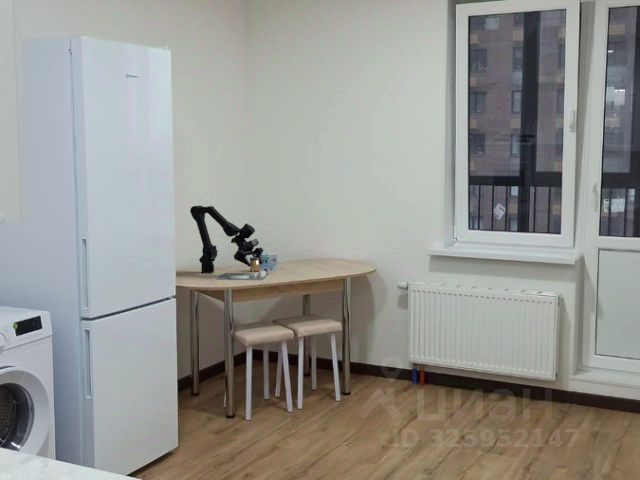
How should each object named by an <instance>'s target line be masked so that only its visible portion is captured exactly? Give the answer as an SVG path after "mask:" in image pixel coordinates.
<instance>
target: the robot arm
mask: <svg viewBox="0 0 640 480" xmlns="http://www.w3.org/2000/svg"><path fill="white" fill-rule="evenodd" d="M189 212H190V215H191V217H192V218H193V220H194V221H195V222H196V225H197V229H198V232H199V235H200V236H199V237H200V240H201V243H202V249H201V250H202V255H201V256H200V258H199V259H198V261H199V263H201V265H200V266H201V271H200V274H213V273H214V272H215V264H214V262H215V260H216V258H217V256H218V253H219V251H218V249H217V245H213V244H212V242H211V238H210V233H209V231H208V228H207V224H206V220H205V219H206V214H208V215H209V216H210V217H211V218H212V219H213V220H214V221H215V222H216V223H217V224H218V225H219V226H220V227H221V228H222V231H223V232H224V234H225V235H226V236H227V237H229V238H230V237H232V238H231V241H230V243H231V244H235V245H236V246H237V247H238V248H237V250H236V252H235V253H234V254H233V259H234V260H235V261H237V262H240V263H242V264H245V265H246V266H248V267H249V268H250V266H251V264H250V260H249V259H248V257H247V256H252V257H258V258H259V263H260V264H261V265H262V264H263V262H262V258H261V254H262V253H264V251H265V250H264V248H263V247H257V246H258V245H259V244H260V243H259V242H260V241H259V240H258V239H257V238H254V239H251V240H248V239H249V238H250V237H251V236H252V235H253V234H254V233H255V232H256V229H255V228H254V227H253V226H252V225H250V224H249V223H244V225H243V226H242V227H241V228H240V227H238V226H237V225H235V224H234V223H232V222H230V221H228V220H227V219H226V218H225V217H224V216H223V215H222V213H220V212H219V211H218V210H217V209H216V208H215V207H214V206H213V205H209V206H203V205H200V204H199V205H194V206H191V207H190V209H189ZM246 239H247V240H246ZM255 247H256V248H255Z"/></svg>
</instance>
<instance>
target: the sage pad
mask: <svg viewBox="0 0 640 480" xmlns="http://www.w3.org/2000/svg"><path fill="white" fill-rule="evenodd" d="M229 279H233V280H232V281H244V280H243V279H249V276H246V275H234V276H229Z"/></svg>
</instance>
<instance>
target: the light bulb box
mask: <svg viewBox="0 0 640 480" xmlns="http://www.w3.org/2000/svg"><path fill="white" fill-rule="evenodd" d="M261 258H262V262H263V264H262V265H261V264H260V263H259V270H261V271H266V273H269V272H278V253H276V252H262V254H261Z"/></svg>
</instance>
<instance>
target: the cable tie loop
mask: <svg viewBox="0 0 640 480" xmlns="http://www.w3.org/2000/svg"><path fill="white" fill-rule="evenodd" d="M243 273H244V275H246V276H249V277H264V276H266V273H267V272H266V271H261V270H259V272H255V273H254V272H250V270H245V271H243Z"/></svg>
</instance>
